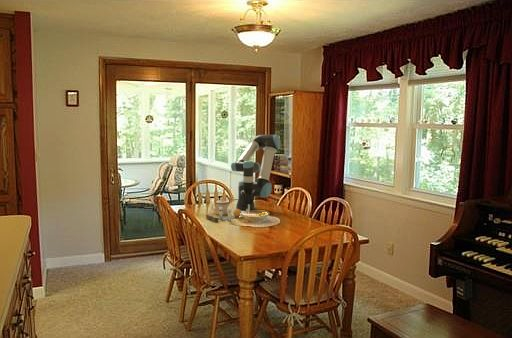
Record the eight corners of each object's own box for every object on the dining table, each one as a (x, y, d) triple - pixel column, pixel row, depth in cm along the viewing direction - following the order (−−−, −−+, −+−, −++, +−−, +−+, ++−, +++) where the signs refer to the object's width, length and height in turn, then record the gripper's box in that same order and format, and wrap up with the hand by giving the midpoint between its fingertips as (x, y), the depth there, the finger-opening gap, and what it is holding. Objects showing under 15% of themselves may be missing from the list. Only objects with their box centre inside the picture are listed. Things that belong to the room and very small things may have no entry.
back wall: (206, 218, 327) (206, 214, 327) (208, 218, 328) (208, 214, 328) (215, 222, 315) (215, 218, 315) (218, 222, 317) (218, 217, 316)
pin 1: (221, 218, 327) (221, 207, 326) (223, 219, 325) (223, 207, 324) (218, 219, 326) (218, 207, 325) (220, 219, 324) (220, 208, 323)
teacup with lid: (227, 212, 350) (227, 197, 349) (228, 214, 341) (228, 199, 340) (211, 212, 348) (211, 197, 347) (212, 215, 339) (212, 199, 338)
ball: (238, 215, 338) (238, 207, 337) (242, 217, 333) (242, 209, 332) (231, 216, 334) (231, 208, 334) (235, 218, 329) (236, 210, 329)
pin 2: (230, 220, 323) (230, 208, 322) (231, 220, 321) (231, 208, 320) (227, 220, 322) (227, 208, 321) (228, 221, 320) (228, 209, 319)
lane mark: (237, 215, 339) (237, 215, 339) (243, 217, 332) (243, 217, 332) (216, 218, 328) (216, 218, 328) (222, 220, 322) (222, 220, 322)
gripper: (252, 180, 343) (252, 211, 345) (238, 181, 336) (237, 213, 338) (258, 181, 337) (257, 212, 339) (243, 183, 329) (243, 214, 332)
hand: (248, 213), depth 339 cm, fingers closed
